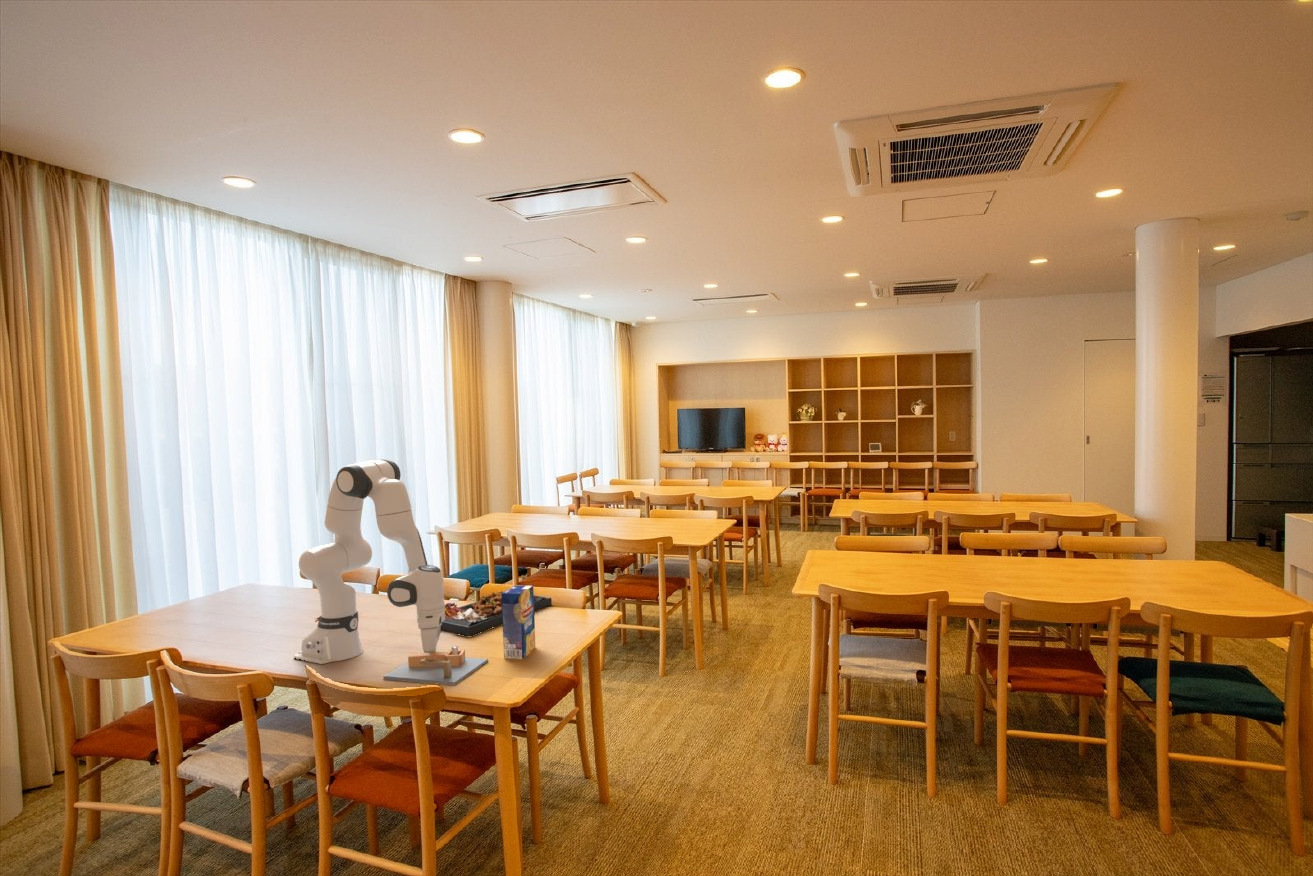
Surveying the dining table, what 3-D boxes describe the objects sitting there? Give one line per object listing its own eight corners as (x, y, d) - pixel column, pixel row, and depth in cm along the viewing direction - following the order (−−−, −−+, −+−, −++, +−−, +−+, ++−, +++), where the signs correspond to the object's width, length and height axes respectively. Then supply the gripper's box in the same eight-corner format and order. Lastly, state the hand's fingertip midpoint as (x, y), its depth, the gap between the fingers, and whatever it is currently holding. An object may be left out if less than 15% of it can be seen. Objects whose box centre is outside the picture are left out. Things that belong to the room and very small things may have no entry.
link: (407, 668, 218) (407, 658, 218) (412, 662, 223) (411, 652, 223) (461, 665, 219) (461, 655, 219) (465, 660, 224) (464, 649, 224)
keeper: (420, 676, 211) (419, 661, 211) (424, 674, 213) (423, 658, 213) (448, 678, 208) (447, 663, 208) (451, 676, 210) (451, 660, 210)
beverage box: (535, 648, 236) (533, 585, 236) (523, 660, 226) (520, 594, 225) (517, 648, 238) (514, 585, 237) (503, 659, 227) (501, 593, 226)
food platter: (469, 639, 250) (468, 611, 250) (425, 629, 264) (424, 603, 263) (551, 608, 288) (550, 584, 288) (509, 601, 302) (508, 578, 301)
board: (383, 679, 212) (383, 676, 212) (421, 656, 232) (421, 653, 232) (454, 685, 206) (454, 682, 206) (488, 661, 225) (488, 658, 225)
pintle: (451, 663, 222) (450, 648, 222) (454, 661, 224) (453, 646, 224) (456, 663, 221) (455, 648, 221) (459, 661, 223) (459, 646, 223)
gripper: (424, 608, 233) (426, 648, 234) (417, 625, 213) (419, 669, 214) (443, 606, 235) (445, 646, 235) (438, 623, 215) (440, 666, 215)
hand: (433, 657), depth 224 cm, fingers closed
